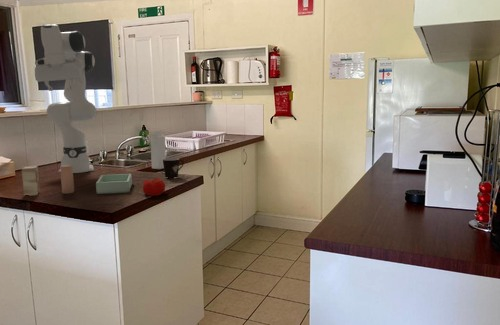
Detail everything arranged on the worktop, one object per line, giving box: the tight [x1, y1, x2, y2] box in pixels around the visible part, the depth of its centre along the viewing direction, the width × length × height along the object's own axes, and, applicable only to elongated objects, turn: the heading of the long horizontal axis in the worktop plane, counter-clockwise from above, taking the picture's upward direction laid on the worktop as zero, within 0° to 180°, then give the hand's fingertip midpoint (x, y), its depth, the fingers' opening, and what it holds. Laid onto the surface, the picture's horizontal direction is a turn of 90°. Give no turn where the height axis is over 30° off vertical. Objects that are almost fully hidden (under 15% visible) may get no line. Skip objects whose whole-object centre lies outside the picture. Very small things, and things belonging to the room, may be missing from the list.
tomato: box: [142, 177, 166, 197], centre depth 182 cm, size 10×11×6 cm
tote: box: [95, 173, 133, 195], centre depth 193 cm, size 18×14×5 cm
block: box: [21, 165, 41, 197], centre depth 182 cm, size 5×5×12 cm
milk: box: [150, 130, 167, 170], centre depth 243 cm, size 6×6×22 cm
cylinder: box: [59, 165, 75, 195], centre depth 185 cm, size 5×5×12 cm
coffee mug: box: [163, 157, 184, 178], centre depth 216 cm, size 12×9×10 cm
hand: (61, 89), depth 198 cm, fingers open, 8 cm apart
